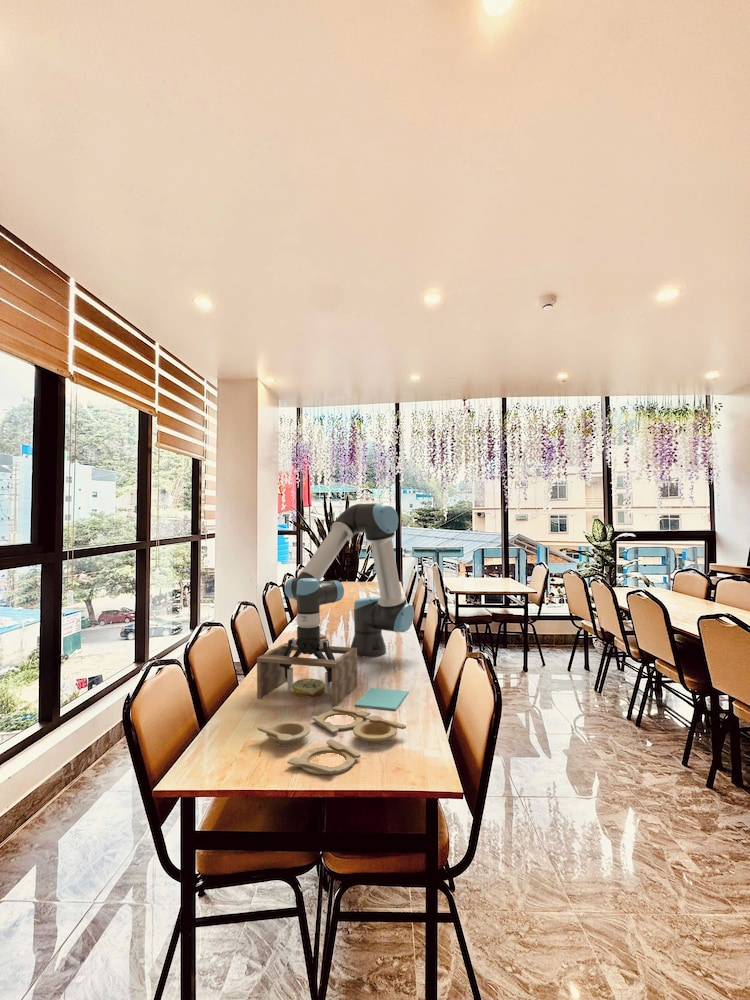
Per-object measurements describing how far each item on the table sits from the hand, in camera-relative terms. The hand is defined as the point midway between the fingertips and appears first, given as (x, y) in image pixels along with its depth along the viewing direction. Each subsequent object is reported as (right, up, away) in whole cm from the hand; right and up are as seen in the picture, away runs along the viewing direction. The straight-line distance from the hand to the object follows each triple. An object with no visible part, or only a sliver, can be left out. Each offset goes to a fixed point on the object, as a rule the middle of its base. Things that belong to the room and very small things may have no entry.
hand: (308, 690), depth 173 cm
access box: (0, -1, 0) cm, 1 cm away
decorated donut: (0, -1, 0) cm, 1 cm away
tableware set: (+11, 0, -37) cm, 39 cm away
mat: (+24, 0, -8) cm, 26 cm away
